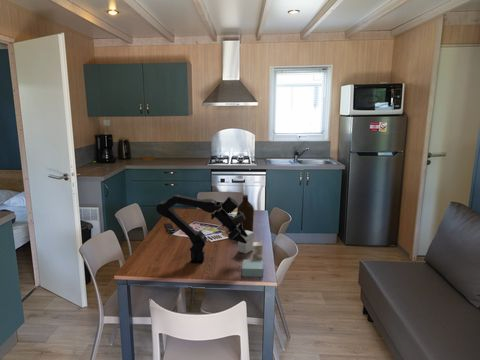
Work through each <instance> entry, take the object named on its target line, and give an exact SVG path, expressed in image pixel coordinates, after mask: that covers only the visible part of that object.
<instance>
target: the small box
mask: <svg viewBox="0 0 480 360" xmlns="http://www.w3.org/2000/svg"><path fill="white" fill-rule="evenodd" d="M245 232H246V233H247V235H248V236H247V237H245V236H243V235H242V236H243V238H244V239H245V240H246V242H247V243H246V244H245V243H242V242H239V241H237V245H238V246H237V251H238V252H239V253H242V254H248V253H250V252H251V251H252V252H253V242H255V232H254V231H253V232H251V231H247V230H246V231H245Z"/></svg>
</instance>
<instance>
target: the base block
mask: <svg viewBox="0 0 480 360" xmlns="http://www.w3.org/2000/svg"><path fill="white" fill-rule="evenodd" d="M242 261H243V262H242V266H241V275H242V277H255V278H256V277H259V278H260V277H261V278H262V277H264V260H253V259H243V260H242Z"/></svg>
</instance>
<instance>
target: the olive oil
mask: <svg viewBox="0 0 480 360" xmlns="http://www.w3.org/2000/svg"><path fill="white" fill-rule="evenodd" d="M238 205H239V206H238V207H237V208H236V209H237V211H236V213H237V212H239V211H240V212H241V213H243V214H244V216H245V221H242V227H243V229H244V230H245V231H246V230H247V231H251V232H254V214H255V210H254V206H253V205H252V203H251V202H250V201H249V196H248V194H243V195H242V201H241V203H239V204H238Z"/></svg>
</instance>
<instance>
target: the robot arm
mask: <svg viewBox="0 0 480 360" xmlns="http://www.w3.org/2000/svg"><path fill="white" fill-rule="evenodd" d="M176 204H178V205H184V206H188V207H193V208H196V209H197V208H198V209H200V210H202V211H204V212H206V213H209V214H210V219H211V220H213V219H216V220H217V221H218V222H219V223H220V224H221V226H222V227H225V229H227V232H228V233H227V239H228V240H231V241H236V242H238V241H239V242H242V243H245V244H246V243H247V242H246V240H245V239H244V238H243V236H245V237H247V236H248V235H247V233H246V232H245V230H244V229H243V227H242V221H245V216H244V214H243V213H241V212H240V211H239V212H237V211H236V215H232V213H233V212H234V211H235V210H236V209H238V206H239V205H240V204H239V203H238V202H237V200H236V199H233V198H232V197H230V196H228V197H227V198H226V199H225V200H224V201H217V200H216V199H212V198H207V199H199V198H194V197H190V196H185V195H181V194H174V195H173V196H172V197H171V198H169V199H167V200H162V201H160V202H159V203H158V204H157V205H156V208H155V209H156V210H155V211H156V213H158V215H160V216H161V217H164V218H166V219H168V220H170V221H171V222H172V223H173V224H174V225H175V226H176V227H177V228H178V229H179V230H180V231H182V232H183V233H184V234H185V235H186V236H187V237H188V238H189V240H190V242H191V246H190V248H189V251H190V261H189V262H190V264H191V263H192V264H202V263H203V262H204V261H205V255H206V253H205V251H204V247H205V246H206V244H207V241H208V238H207V235H206V234H205V233H203V232H202V230H198V231H197V230H195V229H194V228H193V227H191V225H190V224H188V223H187V222H186V221H185V220H184V219H183V218H182V217H181V216H180V215H179V214H178V213H176V211H175V209H174V206H175V205H176ZM230 214H231V215H230ZM242 235H243V236H242Z"/></svg>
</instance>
